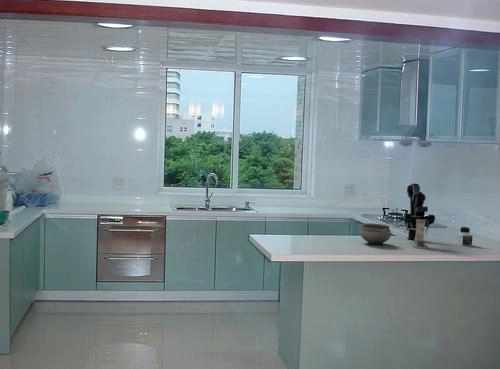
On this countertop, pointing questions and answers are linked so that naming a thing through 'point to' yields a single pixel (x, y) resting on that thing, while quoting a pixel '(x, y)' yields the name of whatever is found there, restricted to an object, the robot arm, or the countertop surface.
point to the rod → (420, 229)
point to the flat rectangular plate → (419, 244)
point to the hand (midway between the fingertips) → (420, 228)
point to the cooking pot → (375, 233)
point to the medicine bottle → (464, 237)
